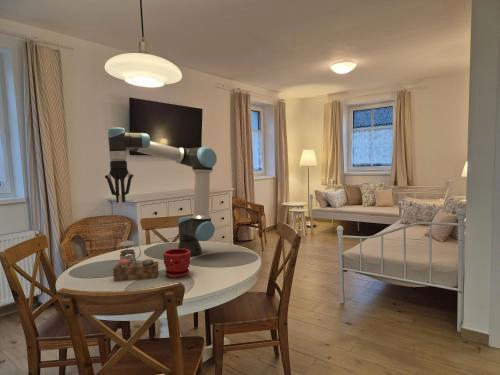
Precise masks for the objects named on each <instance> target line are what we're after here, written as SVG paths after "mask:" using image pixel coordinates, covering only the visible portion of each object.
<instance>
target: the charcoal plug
mask: <svg viewBox="0 0 500 375" xmlns="http://www.w3.org/2000/svg"><path fill="white" fill-rule="evenodd" d="M153 262H154V259H152V258H151V259H144V260H142V261H141V263H142V264H143V265H145V266H147V265H151V264H153Z"/></svg>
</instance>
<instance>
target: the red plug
mask: <svg viewBox="0 0 500 375" xmlns="http://www.w3.org/2000/svg"><path fill="white" fill-rule="evenodd" d="M128 263H130V259H122V260H120V259H119V260H118V264H121V267H128Z"/></svg>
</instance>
